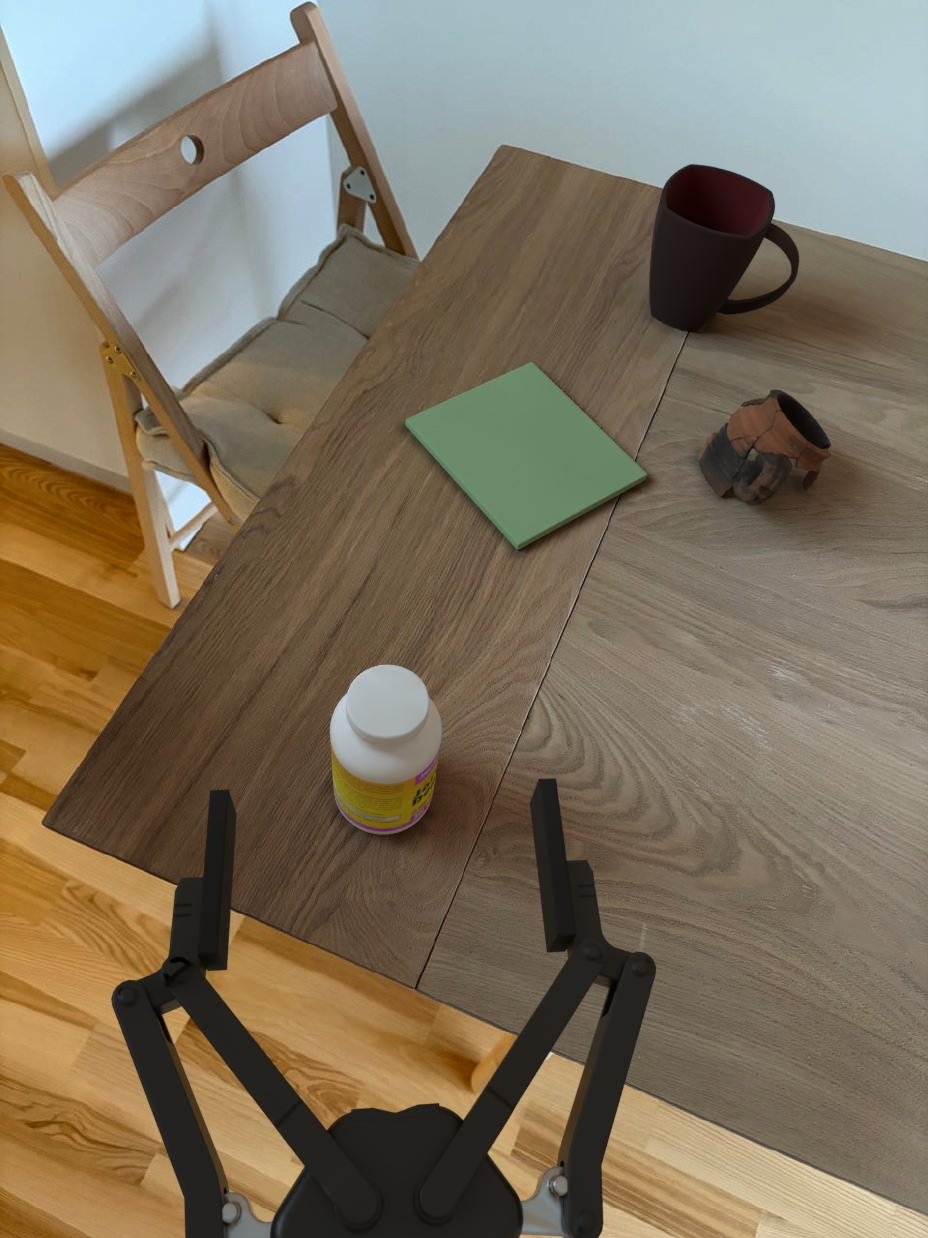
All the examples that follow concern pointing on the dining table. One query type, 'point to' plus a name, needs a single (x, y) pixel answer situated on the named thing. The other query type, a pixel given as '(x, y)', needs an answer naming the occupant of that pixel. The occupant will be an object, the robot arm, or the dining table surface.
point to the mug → (710, 245)
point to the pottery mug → (764, 448)
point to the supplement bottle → (385, 750)
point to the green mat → (525, 453)
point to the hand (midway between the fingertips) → (385, 795)
